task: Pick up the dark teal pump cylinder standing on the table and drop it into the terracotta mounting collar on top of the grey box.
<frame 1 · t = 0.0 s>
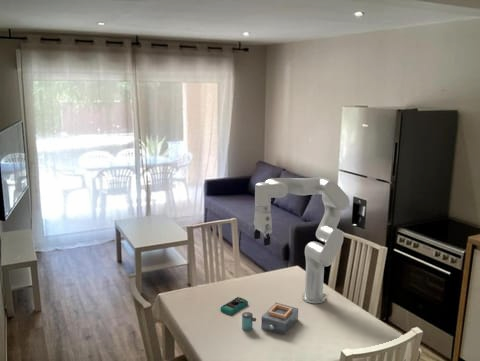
hand: (262, 241, 211), 37 cm above the table, tool pointing down, fingers open, 9 cm apart
grey box: (280, 324, 208), on the table
pump: (247, 328, 204), on the table
digital multimeter: (234, 308, 223), on the table
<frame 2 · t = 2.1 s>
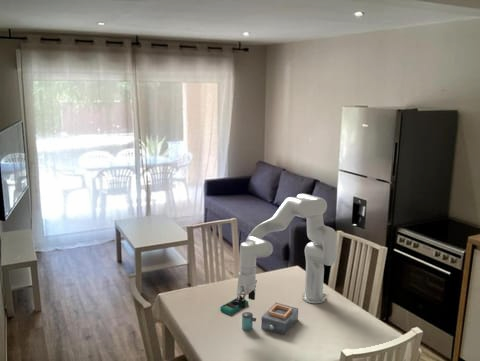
hand: (246, 303, 201), 13 cm above the table, tool pointing down, fingers open, 9 cm apart
nothing on the table moved.
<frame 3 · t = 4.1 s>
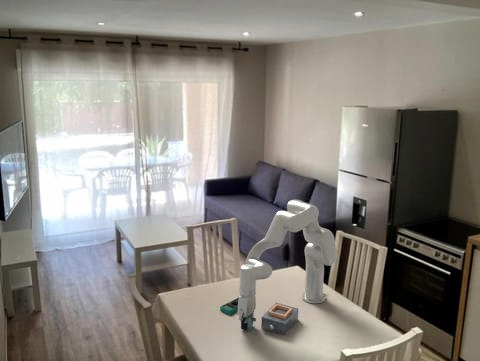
hand: (247, 326, 204), 1 cm above the table, tool pointing down, fingers closed on pump, 5 cm apart
pump: (247, 328, 204), on the table, touching gripper
everything else where it was.
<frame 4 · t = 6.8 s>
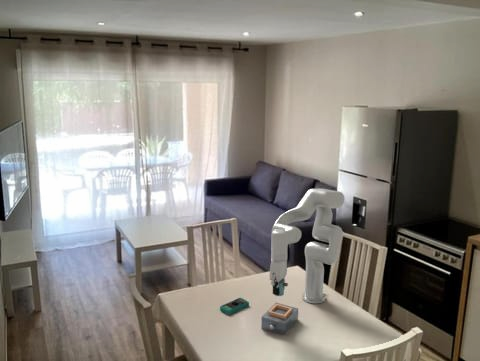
hand: (278, 291, 204), 17 cm above the table, tool pointing down, fingers closed on pump, 5 cm apart
pump: (278, 293, 204), point 16 cm above the table, touching gripper
everything else where it was.
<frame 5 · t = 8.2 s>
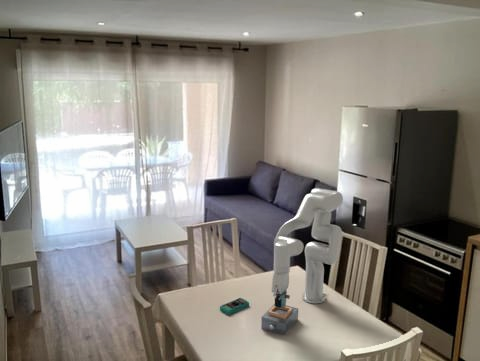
hand: (280, 303, 205), 11 cm above the table, tool pointing down, fingers closed on pump, 5 cm apart
pump: (280, 305, 205), point 10 cm above the table, touching gripper
everything else where it was.
when the fingers open (8 cm above the table, at t = 9.4 s): pump drops 1 cm, resting on grey box.
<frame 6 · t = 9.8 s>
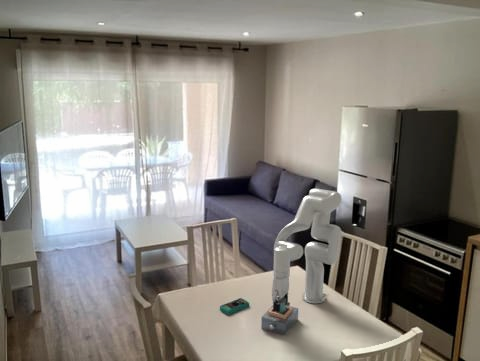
hand: (280, 306, 206), 9 cm above the table, tool pointing down, fingers open, 8 cm apart
pump: (280, 312, 206), point 6 cm above the table, touching grey box
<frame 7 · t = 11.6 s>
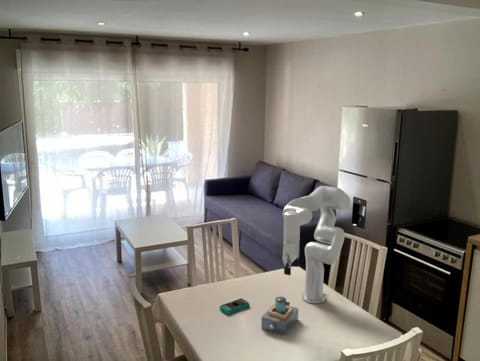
hand: (291, 270, 208), 25 cm above the table, tool pointing down, fingers open, 9 cm apart
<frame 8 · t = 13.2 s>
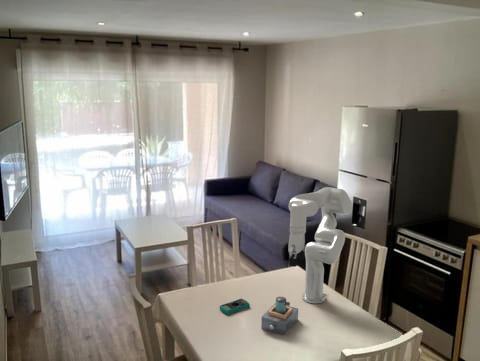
hand: (296, 262, 210), 28 cm above the table, tool pointing down, fingers open, 9 cm apart
at the end: pump 0.1 cm off-centre on the grey box, point 6.0 cm above the grey box's base; pump tilted 1°; the gripper is holding nothing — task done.
